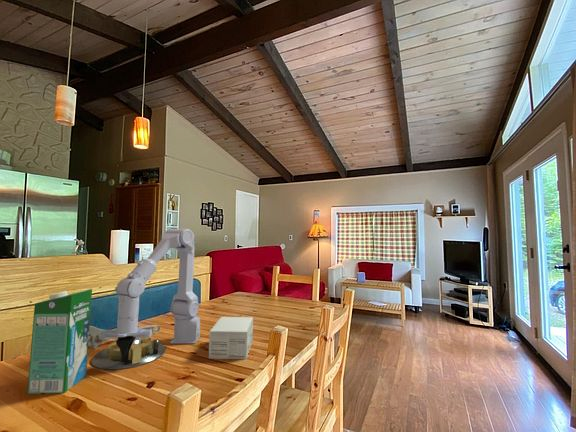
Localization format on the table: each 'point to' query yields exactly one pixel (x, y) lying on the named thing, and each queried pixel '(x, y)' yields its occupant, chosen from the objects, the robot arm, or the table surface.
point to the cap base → (105, 363)
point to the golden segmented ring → (131, 350)
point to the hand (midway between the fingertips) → (124, 360)
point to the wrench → (97, 340)
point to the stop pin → (155, 346)
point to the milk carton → (59, 342)
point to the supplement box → (231, 338)
